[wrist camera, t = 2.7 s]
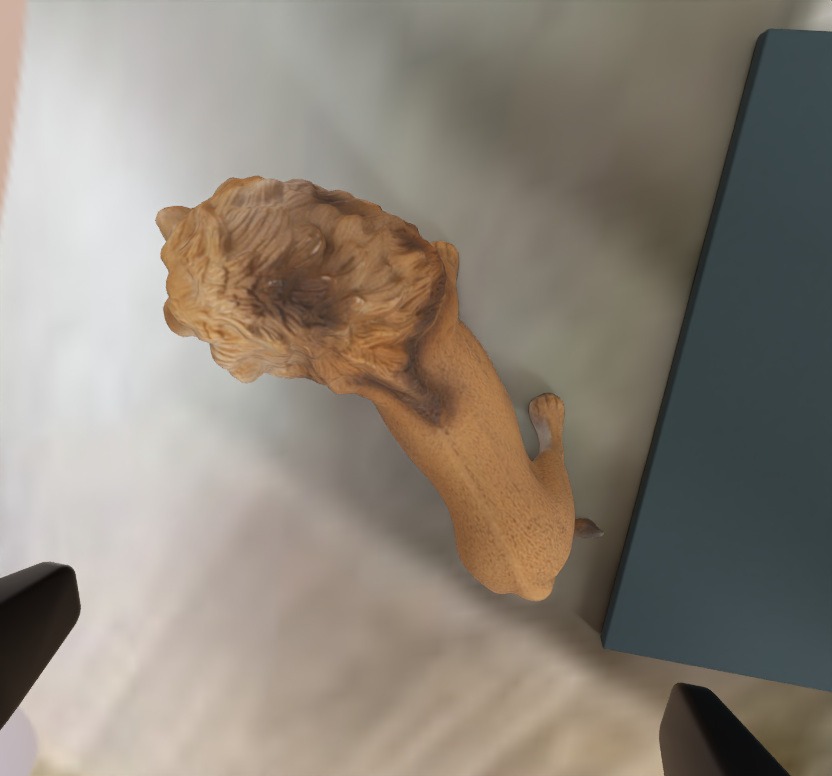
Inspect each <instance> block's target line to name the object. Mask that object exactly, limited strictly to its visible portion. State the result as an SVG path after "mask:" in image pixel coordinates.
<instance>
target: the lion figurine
mask: <svg viewBox="0 0 832 776" xmlns="http://www.w3.org/2000/svg"><path fill="white" fill-rule="evenodd" d="M155 221H156V224H157V225H158V227H159V229H160V231H161V233H162V235H163V237H164V238H165V240H166V243H165V245H164V246H163V247H162V249H161V259H162V261H163V263H164V264H165V266H166V267H167V269H168V272H169V274H168V277H167V280H166V290H167V294H168V296H169V298H168V299H167V300H166V302H165V304H164V308H163V311H164V316H165V320H166V323H167V325H168V326H169V328H170V329H171V331H173V332H174V333H176V334H177V335H179V336H182V337H187V336H194V337H198V339H199V340H202V341H205V342H208V343H210V349H211V354H212V357H213V359H214V361H215V362H216V363H217V364H218V365H219V366H221V367H222V368H224V369H227V370H228V371H229V372H230V374H231V375H232V376H233V377H235V378H236V379H238V380H239V381H240V382H242V383H249V382H250V383H251V382H253V381H255V380H256V379H257V378H258V377H259V376H261V375H262V374H263V373H268V374H271V375H274V376H277V377H284V378H287V379H293V378H307V379H310V380H313V381H315V382H317V383H319V384H323V385H327V386H328V387H329V388H330V389H331V390H332V391H333V392H334V393H336V394H347V393H356V394H358V395H360V396H362V397H366V398H369V399H370V400H372V401H373V403H374V404H375V406H376V408H377V409H378V411H379V413H380V415H381V417H382V418H383V420H384V422H385V423H386V425H387V427H388V428H389V430H390V432H391V433H392V435H393V436H394V437H395V439H396V440H397V441H398V443H399V444H400V445H401V447H402V448H403V449H404V451H405V452H406V453H407V455H408V456H409V457H410V458H411V460H412V461H413V462H414V463H415V464H416V466H417V467H418V468H419V469H420V470H421V471H422V472H423V473H424V474H425V475H426V476H427V478H428V479H429V480H430V481H431V483H432V484H433V485H434V486H435V488H436V489H437V491H438V492H439V494H440V495H441V497H442V498H443V500H444V502H445V503H446V505H447V507H448V510H449V512H450V515H451V518H452V521H453V525H454V531H455V537H456V545H457V550H458V553H459V556H460V559H461V560H462V562H463V564H464V566H465V567H466V568H467V570H468V571H469V572H470V573H471V574H472V575H473V576H474V577H475V578H476V579H477V580H478V581H479V582H481V583H482V584H483V585H484V586H485V587H487V588H488V589H490V590H491V591H492V592H495V593H499V594H505V593H515V594H517V595H519V596H521V597H522V598H524V599H527V600H532V601H539V600H543V599H545V598H546V597H548V596H549V594H550V593H551V591H552V588H553V586H554V582H555V576H556V575H557V574H558V573H559V571H560V570H561V569H562V567H563V566H564V564H565V562H566V560H567V558H568V556H569V554H570V551H571V546H572V540H573V539H574V538H578V537H580V538H592V537H593V538H599V537H600V536H602V535H603V534H604V532H603V531H601V530H600V529H599V528H598V527H597V526H596V525H595V523H594V522H593V521H591V520H589V519H580V518H579V519H577V520H575V508H574V500H573V495H572V491H571V486H570V481H569V478H568V475H567V472H566V469H565V466H564V463H563V461H564V450H563V443H562V428H563V423H564V404H563V402H562V400H561V399H560V397H558V396H556V395H554V394H551V393H546V394H543V395H541V396H539V397H536V398H534V399H533V400H532V401H531V403H530V405H529V415H530V418H531V421H532V423H533V425H534V427H535V429H536V432H537V434H538V438H539V444H540V451H539V454H538V455H537V456H536V457H535V459H534V460H533V461H531V460H530V459H529V457H528V455H527V453H526V450H525V447H524V445H523V441H522V438H521V434H520V429H519V425H518V422H517V418H516V415H515V411H514V408H513V405H512V403H511V400H510V398H509V395H508V393H507V391H506V389H505V387H504V386H503V384H502V382H501V380H500V379H499V377H498V374H497V372H496V370H495V368H494V366H493V364H492V362H491V361H490V359H489V357H488V355H487V353H486V352H485V350H484V349H483V347H482V346H481V344H480V343H479V341H478V340H477V339H476V338H475V336H474V335H473V334H472V332H471V331H470V330H469V329H468V328H467V327H466V326H465V325H464V324H463V323H462V322H461V321H460V320H459V318H458V312H459V301H458V295H457V290H456V279H457V274H458V266H459V255H458V252H457V250H456V248H455V247H454V246H453V245H452V244H449V243H447V242H444V241H436V242H431V243H429V242H428V241H426V240H424V239H423V238H422V237H421V236H420V234H419V233H418V229H417V227H416V226H415V225H413V224H410V223H407V222H405V221H404V220H402V219H401V218H399V217H397V216H394V215H390V214H387V213H385V212H383V211H382V209H381V207H380V206H378V205H376V204H373V203H370V202H368V201H365V200H361V199H357V198H355V197H353V196H352V195H351V194H350V193H348V192H345V191H341V190H335V191H327V190H325V189H323V188H321V187H319V186H318V185H316V184H313V183H311V182H310V181H306V180H303V179H292V180H289V181H286V182H281V181H278V180H275V179H264V178H262V177H260V176H253V177H249V178H245V179H239V178H229V179H228V180H226V181H225V182H224V183H222V184H221V185H220V186H219V187H218V188H217V190H216V191H215V193H214V195H213V196H212V197H211V198H209V199H208V200H206V201H204V202H202V203H201V204H199V205H198V206H196V207H195V208H192V209H190V208H186V207H183V206H172V207H167V208H164V209H162V210H160V211H159V212H158V214H157V217H156V220H155Z"/></svg>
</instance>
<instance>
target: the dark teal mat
mask: <svg viewBox="0 0 832 776" xmlns="http://www.w3.org/2000/svg"><path fill="white" fill-rule="evenodd" d="M601 641H602V646H603V648H604V649H609V650H614V651H619V652H624V653H630V654H635V655H640V656H645V657H651V658H656V659H661V660H666V661H672V662H677V663H682V664H687V665H693V666H698V667H703V668H708V669H714V670H719V671H724V672H729V673H735V674H740V675H745V676H750V677H756V678H761V679H766V680H771V681H777V682H782V683H787V684H792V685H798V686H803V687H808V688H813V689H818V690H824V691H829V692H832V32H828V31H808V30H787V29H768V30H767V31H765V32H764V33H762V34H761V35H760V36H759V37H758V41H757V45H756V48H755V52H754V56H753V60H752V64H751V67H750V71H749V75H748V79H747V83H746V86H745V90H744V94H743V98H742V102H741V105H740V109H739V113H738V117H737V121H736V124H735V128H734V132H733V136H732V140H731V143H730V147H729V151H728V155H727V159H726V162H725V166H724V170H723V174H722V178H721V181H720V185H719V189H718V193H717V197H716V200H715V204H714V208H713V212H712V216H711V219H710V223H709V227H708V231H707V235H706V238H705V242H704V246H703V250H702V254H701V257H700V261H699V265H698V269H697V273H696V276H695V280H694V284H693V288H692V292H691V295H690V299H689V303H688V307H687V311H686V314H685V318H684V322H683V326H682V330H681V333H680V337H679V341H678V345H677V349H676V352H675V356H674V360H673V364H672V368H671V371H670V375H669V379H668V383H667V387H666V390H665V394H664V398H663V402H662V406H661V409H660V413H659V417H658V421H657V425H656V428H655V432H654V436H653V440H652V444H651V447H650V451H649V455H648V459H647V463H646V466H645V470H644V474H643V478H642V482H641V485H640V489H639V493H638V497H637V501H636V504H635V508H634V512H633V516H632V520H631V523H630V527H629V531H628V535H627V539H626V542H625V546H624V550H623V554H622V558H621V561H620V565H619V569H618V573H617V577H616V580H615V584H614V588H613V592H612V596H611V599H610V603H609V607H608V611H607V615H606V618H605V622H604V626H603V630H602V634H601Z"/></svg>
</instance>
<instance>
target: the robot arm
mask: <svg viewBox="0 0 832 776" xmlns="http://www.w3.org/2000/svg"><path fill="white" fill-rule="evenodd" d="M80 610H81V604H80V598H79V592H78V586H77V580H76V574H75V571H74V570H73V568H72V567H70V566H69V565H64V564H59V563H54V562H42V563H39V564H37V565H34V566H31V567H29V568H26V569H24V570H21V571H18V572H16V573H13V574H10V575H8V576H5V577H3V578H0V730H1V729H2V727H3V726H4V725H5V724H6V722H7V721H8V720H9V718H10V717H11V716H12V714H13V713H14V711H15V710H16V709H17V707H18V706H19V705H20V703H21V702H22V700H23V699H24V697H25V696H26V695H27V693H28V692H29V690H30V689H31V687H32V686H33V685H34V683H35V682H36V680H37V679H38V677H39V676H40V674H41V673H42V672H43V670H44V669H45V667H46V666H47V664H48V663H49V662H50V660H51V659H52V657H53V656H54V654H55V653H56V652H57V650H58V649H59V647H60V646H61V644H62V643H63V641H64V640H65V639H66V637H67V636H68V634H69V633H70V631H71V630H72V629H73V627H74V626H75V624H76V622H77V620H78V618H79V615H80ZM659 741H660V750H661V756H662V763H663V770H664V776H790V775H789V773H788V772H787V771H786V770H785V769H784V768H783V767H782V766H781V765H780V764H779V763H778V762H777V761H776V759H775V758H774V757H773V756H772V755H771V754H770V753H769V752H768V751H767V750H766V749H765V748H764V747H763V745H762V744H761V743H760V742H759V741H758V740H757V739H756V738H755V737H754V736H753V735H752V734H751V733H750V731H749V730H748V729H747V728H746V727H745V726H744V725H743V724H742V723H741V722H740V721H739V720H738V719H737V717H736V716H735V715H734V714H733V713H732V712H731V711H730V710H729V709H728V708H727V707H726V706H725V705H724V703H723V702H722V701H721V700H720V699H719V698H718V697H717V696H716V695H715V694H714V693H713V692H712V691H711V690H709V689H708V688H705V687H701V686H696V685H691V684H686V683H677V684H675V685H674V687H673V689H672V691H671V694H670V697H669V700H668V703H667V706H666V709H665V712H664V715H663V718H662V721H661V725H660V731H659Z"/></svg>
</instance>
